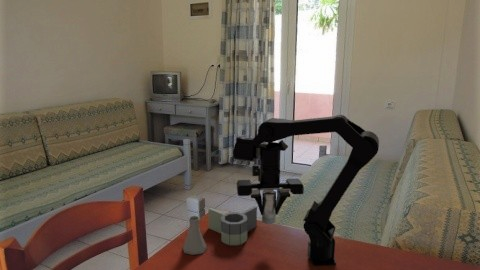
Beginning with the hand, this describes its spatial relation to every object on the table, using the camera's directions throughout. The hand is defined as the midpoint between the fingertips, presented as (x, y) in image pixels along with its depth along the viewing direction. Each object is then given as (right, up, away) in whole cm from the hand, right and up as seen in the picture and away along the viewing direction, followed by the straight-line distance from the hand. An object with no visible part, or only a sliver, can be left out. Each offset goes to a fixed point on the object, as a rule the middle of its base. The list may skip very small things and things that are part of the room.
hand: (268, 214), depth 103 cm
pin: (0, -2, 0) cm, 2 cm away
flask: (-22, -11, +2) cm, 25 cm away
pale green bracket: (-13, -9, +10) cm, 18 cm away
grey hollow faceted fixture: (-8, -9, +10) cm, 16 cm away
